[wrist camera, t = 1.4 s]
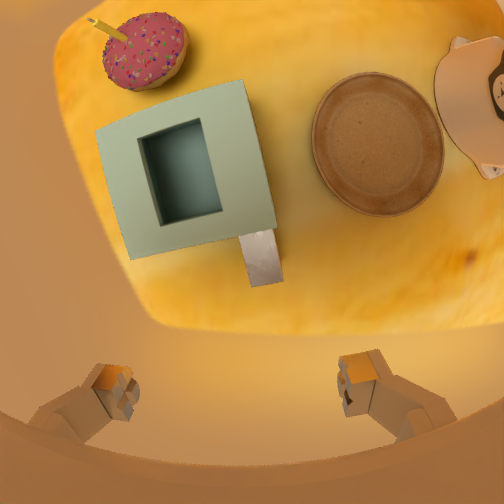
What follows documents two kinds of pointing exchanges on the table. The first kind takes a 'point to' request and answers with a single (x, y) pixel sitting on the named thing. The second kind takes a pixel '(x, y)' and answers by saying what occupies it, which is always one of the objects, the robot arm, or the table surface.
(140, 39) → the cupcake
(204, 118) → the coin box
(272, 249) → the block
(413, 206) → the plant saucer
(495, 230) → the table surface
